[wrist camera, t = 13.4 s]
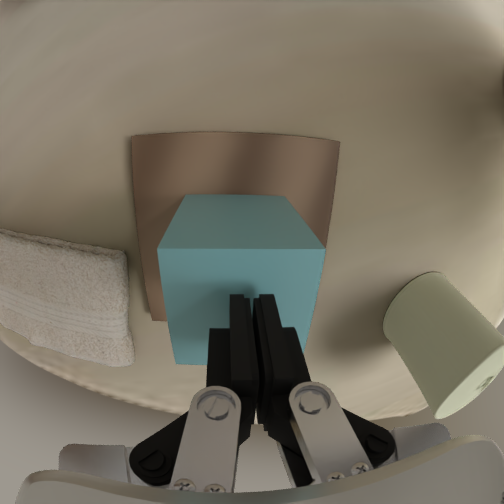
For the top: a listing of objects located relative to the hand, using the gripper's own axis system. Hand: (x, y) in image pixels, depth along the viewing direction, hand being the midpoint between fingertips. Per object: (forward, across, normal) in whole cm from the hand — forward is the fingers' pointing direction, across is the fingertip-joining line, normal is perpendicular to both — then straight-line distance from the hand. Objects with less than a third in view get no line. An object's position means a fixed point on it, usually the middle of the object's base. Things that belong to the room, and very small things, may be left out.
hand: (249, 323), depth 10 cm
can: (+10, -19, +8) cm, 23 cm away
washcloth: (+10, +18, +6) cm, 21 cm away
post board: (+9, 0, 0) cm, 9 cm away
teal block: (+8, 0, 0) cm, 8 cm away
